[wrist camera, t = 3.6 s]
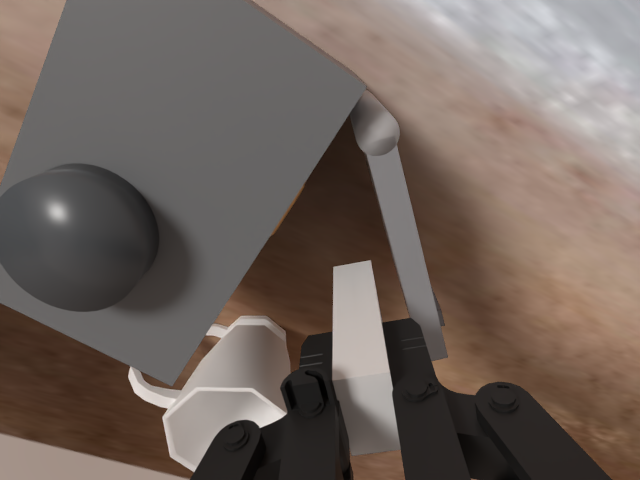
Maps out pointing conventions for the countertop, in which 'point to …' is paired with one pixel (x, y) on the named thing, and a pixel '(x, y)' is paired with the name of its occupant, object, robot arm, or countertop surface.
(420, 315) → the door
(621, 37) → the countertop surface
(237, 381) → the cup
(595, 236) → the countertop surface
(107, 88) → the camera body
